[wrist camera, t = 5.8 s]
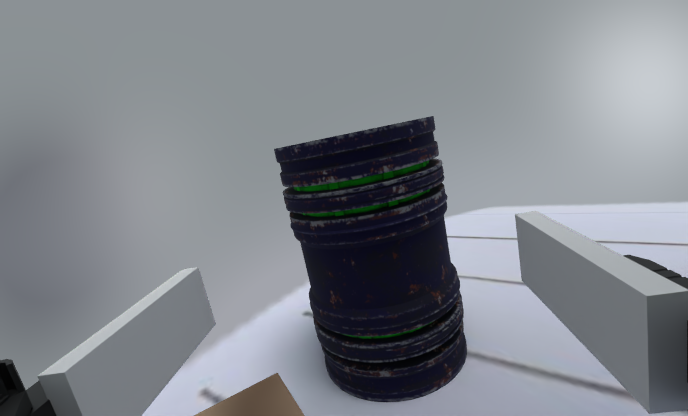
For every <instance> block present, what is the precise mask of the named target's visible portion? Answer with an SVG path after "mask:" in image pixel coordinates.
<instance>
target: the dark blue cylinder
mask: <svg viewBox="0 0 688 416" xmlns="http://www.w3.org/2000/svg"><path fill="white" fill-rule="evenodd" d="M434 130H435V124H434V117H433V116H431V117H426V118H422V119H417V120H412V121H407V122H402V123H397V124H393V125H388V126H383V127H378V128H373V129H368V130H364V131H359V132H354V133H349V134H344V135H339V136H335V137H330V138H325V139H320V140H315V141H310V142H306V143H301V144H297V145H291V146H286V147H282V148H277V149H274V151H275V155H276V159H277V162H278V163H280V166H281V170H282V172H281V173H280V176H281V180H282V184H283V186H285V187H289V188H287V189H285V190H284V191H283V195H284V200H285V204H286V208H287V210H288V211H290V219H291V228H292V229H293V231H294V236H295V237H296V239H298V240H299V241H300V243H301V247H302V251H303V255H304V259H305V263H306V268H307V272H308V276H309V281H310V285H311V288H310V291H309V298H310V305H311V309H312V311H313V315H314V316H313V318H314V324H315V329H316V332H317V337H318V339H319V341H320V343H321V346H322V350H323V352H324V354H325V362H326V367H327V371H328V373H329V375H330V378H331V379H332V380H333V382H334V383H335V384H336V385H337V386H338V387H339V388H341V389H342V390H343V391H345V392H347V393H349V394H350V395H353V396H356V397H358V398H361V399H366V400H370V401H379V402H397V401H404V400H410V399H414V398H418V397H421V396H425V395H427V394H429V393H432V392H434V391H436V390H438V389H439V388H441V387H443V386H444V385H446V384H447V383H448V382H450V381H451V380H452V379H453V378H454V377H455V376H456V375H457V374H458V373H459V371H460V370H461V368H462V366H463V365H464V363H465V359H466V355H467V345H466V339H465V335H464V332H463V304H462V297H461V294H460V291H459V288H460V281H459V278H458V276H457V271H456V268H455V266H454V265H453V264H452V263H451V261H450V255H449V248H448V241H447V234H446V227H445V221H444V213H445V212H446V210H447V202H446V200H447V195H446V194H445V189H444V185H443V183H441V182H442V181H443V180H444V175H443V173H444V172H443V167H442V161H441V160H439V159H433V158H435V157H436V156H438V155H439V152H438V145H437V142H436V141H434V135H433V131H434Z"/></svg>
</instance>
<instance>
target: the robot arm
mask: <svg viewBox="0 0 688 416" xmlns="http://www.w3.org/2000/svg"><path fill="white" fill-rule="evenodd" d="M515 219H516V229H517V238H518V248H519V258H520V267H521V277H522V281H523V282H524V283H525V284H526V285H527V286H528V287H529V288H530V289H531V290H532V292H533V293H534V294H535V295H536V296H537V297H538V298H539V299H540V300H541V301H542V302H543V303H544V304H545V305H546V306H547V307H548V308H549V309H550V310H551V311H552V312H553V313H554V314H555V316H556V317H557V318H558V319H559V320H560V321H561V322H562V323H563V324H564V325H565V326H566V327H567V328H568V329H569V330H570V331H571V332H572V333H573V334H574V335H575V336H576V337H577V339H578V340H579V341H580V342H581V343H582V344H583V345H584V346H585V347H586V348H587V349H588V350H589V351H590V352H591V353H592V354H593V355H594V356H595V357H596V358H597V359H598V360H599V361H600V363H601V364H602V365H603V366H604V367H605V368H606V369H607V370H608V371H609V372H610V373H611V374H612V375H613V376H614V377H615V378H616V379H617V380H618V381H619V382H620V383H621V384H622V385H623V387H624V388H625V389H626V390H627V391H628V392H629V393H630V394H631V395H632V396H633V397H634V398H635V399H636V400H637V401H638V402H639V403H640V404H641V405H642V406H643V407H644V408H645V409H646V411H647V412H648V413H649V414H652V413H663V412H674V411H685V410H688V278H686V277H681V275H680V274H678V273H675V272H673V271H671V270H667V268H665V267H663V266H661V265H659V264H657V263H655V262H653V261H651V260H647V259H643V258H639V257H635V256H631V255H624V256H622V255H620V254H618V253H616V252H615V251H613V250H611V249H609V248H607V247H605V246H603V245H601V244H599V243H597V242H595V241H593V240H591V239H589V238H588V237H586V236H584V235H582V234H580V233H578V232H576V231H574V230H572V229H570V228H568V227H566V226H564V225H562V224H561V223H559V222H557V221H555V220H553V219H551V218H549V217H547V216H545V215H543V214H541V213H539V212H537V211H532V212H526V213H520V214H515ZM215 324H216V323H215V320H214V316H213V313H212V310H211V307H210V303H209V300H208V297H207V294H206V290H205V287H204V284H203V281H202V277H201V274H200V271H199V268H198V267H196V268H189V269H184V270H181V271H180V272H178V273H177V274H176V275H174V276H173V277H171V278H170V279H169V280H167V281H166V282H165V283H163V284H162V285H161V286H159V287H158V288H157V289H155V290H154V291H152V292H151V293H150V294H148V295H147V296H146V297H145V298H143V299H142V300H140V301H139V302H137V303H136V304H135V305H133V306H132V307H131V308H129V309H128V310H127V311H125V312H124V313H123V314H121V315H120V316H118V317H117V318H116V319H114V320H113V321H112V322H110V323H109V324H108V325H106V326H105V327H103V328H102V329H101V330H99V331H98V332H97V333H95V334H94V335H93V336H91V337H90V338H88V339H87V340H86V341H84V342H83V343H82V344H80V345H79V346H78V347H76V348H75V349H74V350H72V351H71V352H69V353H68V354H67V355H65V356H64V357H63V358H61V359H60V360H59V361H57V362H56V363H55V364H53V365H52V366H50V367H49V368H48V369H46V370H45V371H44V372H42V373H41V374H39V375H38V378H39V381H38V382H37V383H35V384H34V385H33V386H31V387H30V388H29V389H27V390H25V388H24V386H23V383H22V381H21V379H20V377H19V375H18V372H17V370H16V368H15V365H14V363H13V361H12V360H8V359H5V360H0V416H142V414H143V413H144V412H145V411H146V409H147V408H148V407H149V406H150V404H151V403H152V402H153V401H154V400H155V398H156V397H157V396H158V395H159V393H160V392H161V391H162V390H163V388H164V387H165V386H166V385H167V384H168V382H169V381H170V380H171V379H172V377H173V376H174V375H175V374H176V372H177V371H178V370H179V369H180V368H181V366H182V365H183V364H184V363H185V361H186V360H187V359H188V358H189V356H190V355H191V354H192V353H193V352H194V350H195V349H196V348H197V347H198V345H199V344H200V343H201V342H202V340H203V339H204V338H205V337H206V335H207V334H208V333H209V332H210V331H211V329H212V328H213V327H214V326H215Z"/></svg>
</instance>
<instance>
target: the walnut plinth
mask: <svg viewBox="0 0 688 416" xmlns="http://www.w3.org/2000/svg"><path fill="white" fill-rule="evenodd" d="M194 416H304V414H303V413H302V411H301V409H300V408H299V406H298V405H297V403H296V401H295V400H294V398H293V397H292V395H291V394H290V392H289V390H288V389H287V387H286V386H285V384H284V382H283V381H282V379H281V378H280V376H279V375H278V373H276V374H274V375H272V376H270V377H268V378H266V379H264V380H262V381H260V382H258V383H256V384H254V385H253V386H251V387H249V388H247V389H245V390H243V391H241V392H239V393H237V394H235V395H233V396H231V397H229V398H227V399H225V400H223V401H221V402H219V403H218V404H216V405H214V406H212V407H210V408H208V409H206V410H204V411H202V412H200V413H198V414H196V415H194Z"/></svg>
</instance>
